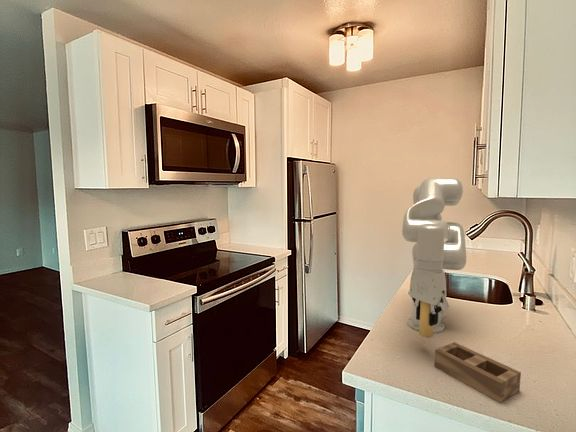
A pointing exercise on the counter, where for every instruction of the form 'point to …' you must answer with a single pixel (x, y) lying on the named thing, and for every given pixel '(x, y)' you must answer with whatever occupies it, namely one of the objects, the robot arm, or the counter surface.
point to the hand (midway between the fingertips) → (426, 321)
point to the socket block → (478, 371)
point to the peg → (425, 320)
